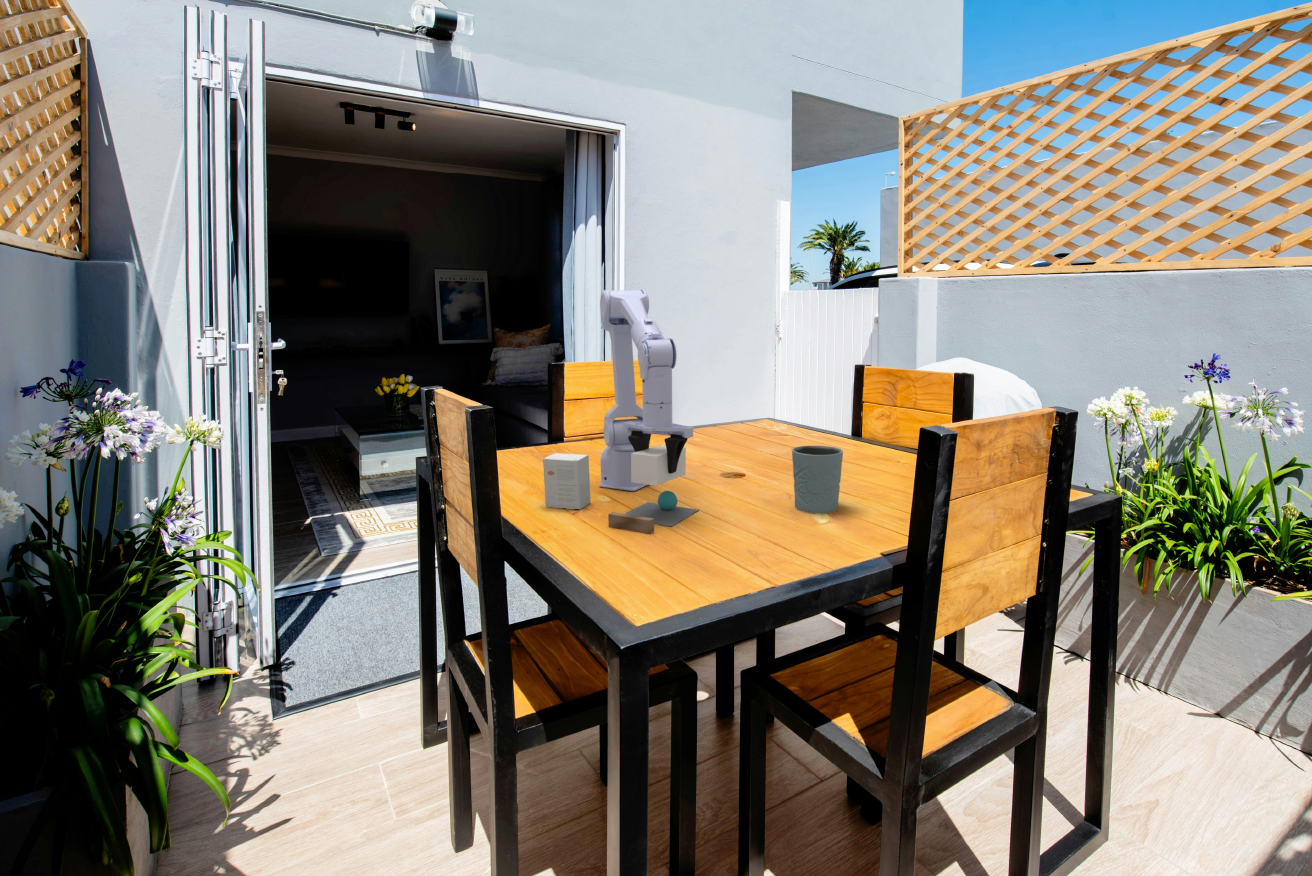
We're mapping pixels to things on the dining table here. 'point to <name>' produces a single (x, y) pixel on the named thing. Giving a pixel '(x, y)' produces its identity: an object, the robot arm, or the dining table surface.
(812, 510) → the grey green tumbler
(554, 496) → the small box
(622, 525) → the brown rectangular bar
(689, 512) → the thin grey square plate
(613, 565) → the dining table surface
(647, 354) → the robot arm
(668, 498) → the ball
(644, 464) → the white rectangular block
